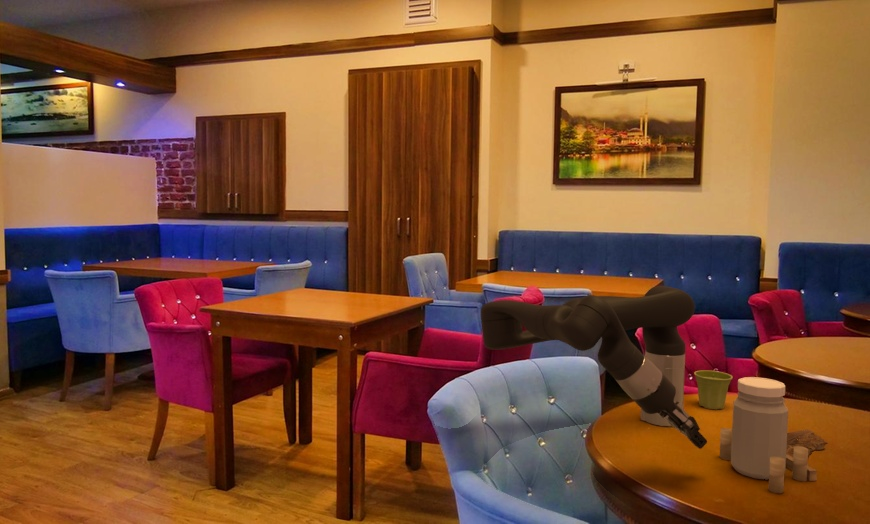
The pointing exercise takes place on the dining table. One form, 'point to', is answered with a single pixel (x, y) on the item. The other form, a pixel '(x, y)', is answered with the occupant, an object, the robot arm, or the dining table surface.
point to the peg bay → (776, 463)
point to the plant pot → (712, 388)
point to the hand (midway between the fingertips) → (702, 444)
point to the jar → (758, 426)
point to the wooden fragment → (804, 441)
